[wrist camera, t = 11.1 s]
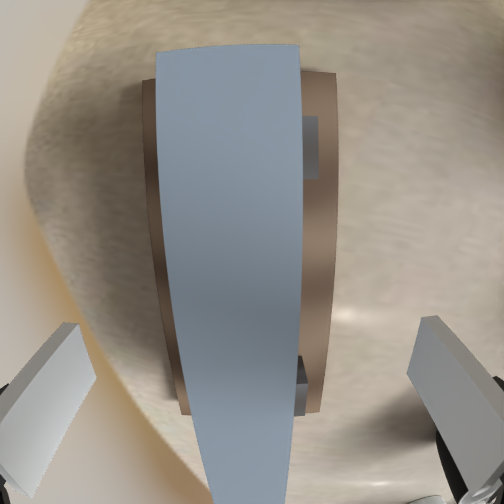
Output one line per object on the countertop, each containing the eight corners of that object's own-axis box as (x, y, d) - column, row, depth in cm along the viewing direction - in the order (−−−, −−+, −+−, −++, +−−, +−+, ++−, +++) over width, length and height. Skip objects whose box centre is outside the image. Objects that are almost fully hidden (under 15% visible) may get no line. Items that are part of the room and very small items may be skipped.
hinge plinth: (149, 85, 17) (123, 69, 13) (329, 78, 17) (351, 60, 13) (184, 402, 24) (175, 442, 20) (316, 399, 24) (325, 439, 20)
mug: (412, 449, 28) (441, 515, 18) (450, 393, 25) (496, 462, 16) (479, 437, 29) (510, 487, 19) (514, 385, 26) (556, 435, 16)
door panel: (206, 104, 16) (156, 52, 7) (271, 101, 16) (298, 44, 7) (225, 397, 22) (216, 512, 13) (273, 397, 22) (283, 511, 13)
